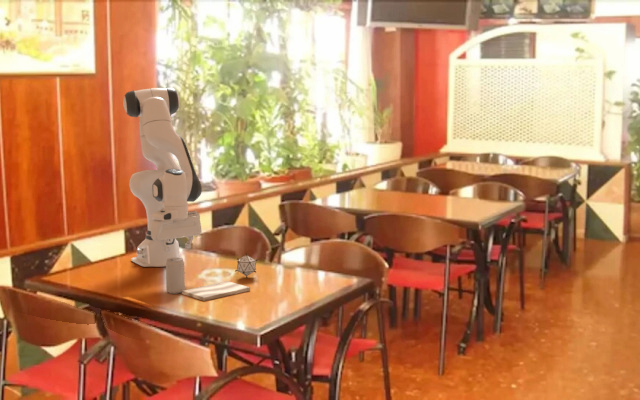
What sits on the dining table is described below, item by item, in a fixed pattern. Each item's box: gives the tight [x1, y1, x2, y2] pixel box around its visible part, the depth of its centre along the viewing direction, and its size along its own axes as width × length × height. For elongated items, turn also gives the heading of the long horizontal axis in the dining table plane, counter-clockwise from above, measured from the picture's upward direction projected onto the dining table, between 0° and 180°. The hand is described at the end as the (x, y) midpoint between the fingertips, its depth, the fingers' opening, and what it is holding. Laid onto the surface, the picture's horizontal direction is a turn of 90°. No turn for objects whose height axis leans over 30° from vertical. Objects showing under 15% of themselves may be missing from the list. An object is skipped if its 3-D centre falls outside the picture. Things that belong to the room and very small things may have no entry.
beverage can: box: [165, 257, 186, 295], centre depth 270 cm, size 6×6×12 cm
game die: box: [234, 252, 259, 279], centre depth 290 cm, size 9×8×10 cm
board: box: [181, 280, 251, 302], centre depth 270 cm, size 13×20×1 cm, turn 134°
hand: (177, 249), depth 285 cm, fingers open, 8 cm apart
